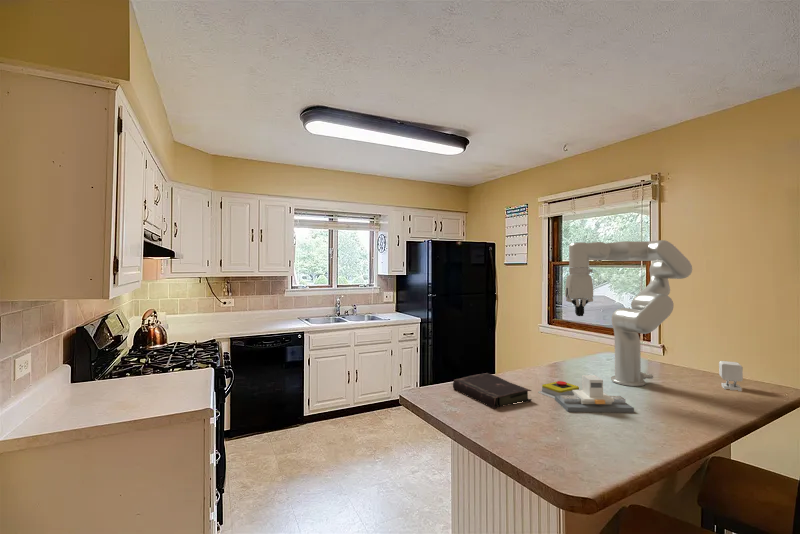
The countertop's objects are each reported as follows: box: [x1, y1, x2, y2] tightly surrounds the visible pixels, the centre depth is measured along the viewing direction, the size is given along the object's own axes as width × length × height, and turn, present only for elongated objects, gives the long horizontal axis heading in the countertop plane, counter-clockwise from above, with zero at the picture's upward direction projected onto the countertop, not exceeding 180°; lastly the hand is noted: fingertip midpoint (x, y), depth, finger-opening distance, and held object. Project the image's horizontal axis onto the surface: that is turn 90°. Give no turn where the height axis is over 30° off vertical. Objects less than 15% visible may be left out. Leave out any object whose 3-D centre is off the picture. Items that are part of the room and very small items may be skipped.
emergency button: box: [537, 380, 580, 400], centre depth 148 cm, size 9×4×15 cm
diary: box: [452, 372, 532, 410], centre depth 146 cm, size 19×25×5 cm
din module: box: [581, 374, 604, 397], centre depth 134 cm, size 4×6×6 cm
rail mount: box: [554, 395, 635, 413], centre depth 134 cm, size 22×12×3 cm, turn 87°
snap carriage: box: [572, 389, 614, 404], centre depth 133 cm, size 10×11×2 cm
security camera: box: [718, 360, 744, 392], centre depth 153 cm, size 6×7×10 cm
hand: (579, 315), depth 158 cm, fingers closed
